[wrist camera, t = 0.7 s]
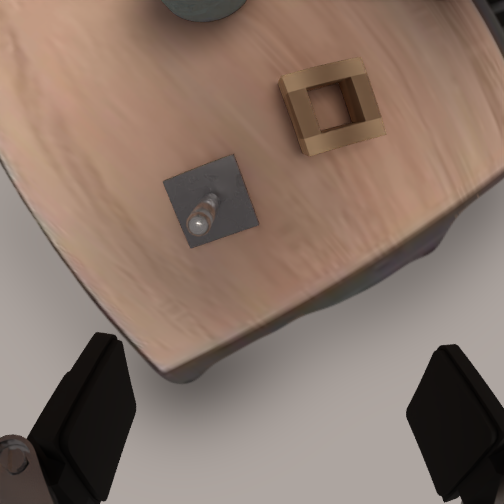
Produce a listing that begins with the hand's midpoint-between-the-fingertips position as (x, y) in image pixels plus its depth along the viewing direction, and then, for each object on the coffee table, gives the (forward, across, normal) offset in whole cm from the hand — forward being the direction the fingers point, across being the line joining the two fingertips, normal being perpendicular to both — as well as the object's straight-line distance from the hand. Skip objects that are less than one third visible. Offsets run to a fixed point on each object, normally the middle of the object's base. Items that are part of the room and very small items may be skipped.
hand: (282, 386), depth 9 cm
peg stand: (+23, +5, 0) cm, 24 cm away
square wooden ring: (+24, -5, -10) cm, 26 cm away
